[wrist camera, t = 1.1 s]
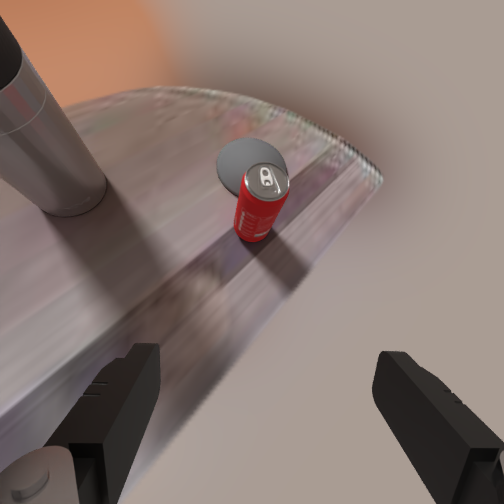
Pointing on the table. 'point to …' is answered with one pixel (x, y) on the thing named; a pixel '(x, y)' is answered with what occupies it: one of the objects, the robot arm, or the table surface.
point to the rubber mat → (244, 160)
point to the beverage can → (260, 200)
